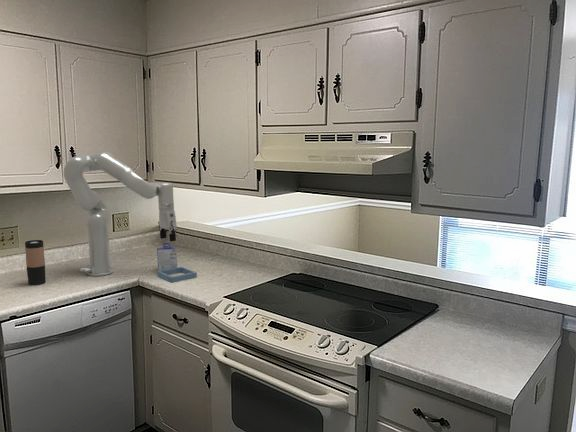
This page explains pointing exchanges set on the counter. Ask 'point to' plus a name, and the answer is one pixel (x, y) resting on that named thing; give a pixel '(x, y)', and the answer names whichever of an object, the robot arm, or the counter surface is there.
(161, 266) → the ink cartridge box
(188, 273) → the frame
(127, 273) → the counter surface
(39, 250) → the travel mug
